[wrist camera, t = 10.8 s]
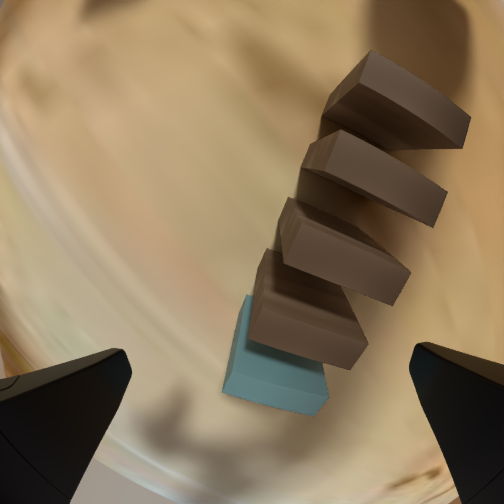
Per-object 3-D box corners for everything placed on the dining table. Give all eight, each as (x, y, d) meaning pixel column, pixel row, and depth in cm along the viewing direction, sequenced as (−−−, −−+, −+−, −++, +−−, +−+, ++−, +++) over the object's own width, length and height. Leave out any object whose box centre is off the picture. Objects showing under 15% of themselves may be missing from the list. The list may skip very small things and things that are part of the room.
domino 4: (266, 248, 19) (262, 307, 11) (334, 275, 19) (368, 343, 11) (257, 269, 19) (247, 339, 11) (324, 294, 19) (350, 370, 12)
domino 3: (288, 196, 17) (301, 223, 10) (357, 227, 18) (411, 272, 10) (278, 220, 18) (283, 263, 10) (347, 249, 18) (392, 306, 11)
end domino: (246, 294, 20) (232, 370, 12) (311, 317, 20) (329, 397, 12) (238, 313, 20) (221, 392, 13) (302, 334, 20) (313, 416, 13)
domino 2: (310, 144, 16) (340, 129, 9) (379, 177, 17) (448, 192, 9) (300, 167, 17) (323, 170, 9) (370, 199, 17) (433, 228, 9)
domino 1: (329, 94, 15) (370, 49, 8) (397, 130, 16) (471, 117, 8) (321, 116, 16) (358, 82, 8) (390, 150, 16) (462, 148, 8)
